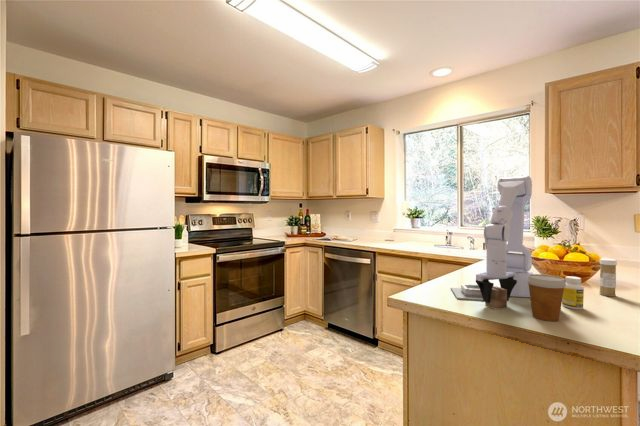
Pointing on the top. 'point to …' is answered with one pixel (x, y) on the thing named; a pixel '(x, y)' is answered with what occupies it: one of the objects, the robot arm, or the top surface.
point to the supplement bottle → (573, 293)
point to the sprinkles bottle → (607, 277)
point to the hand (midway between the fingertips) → (495, 301)
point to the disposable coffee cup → (546, 296)
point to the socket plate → (461, 296)
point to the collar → (471, 290)
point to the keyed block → (498, 298)
